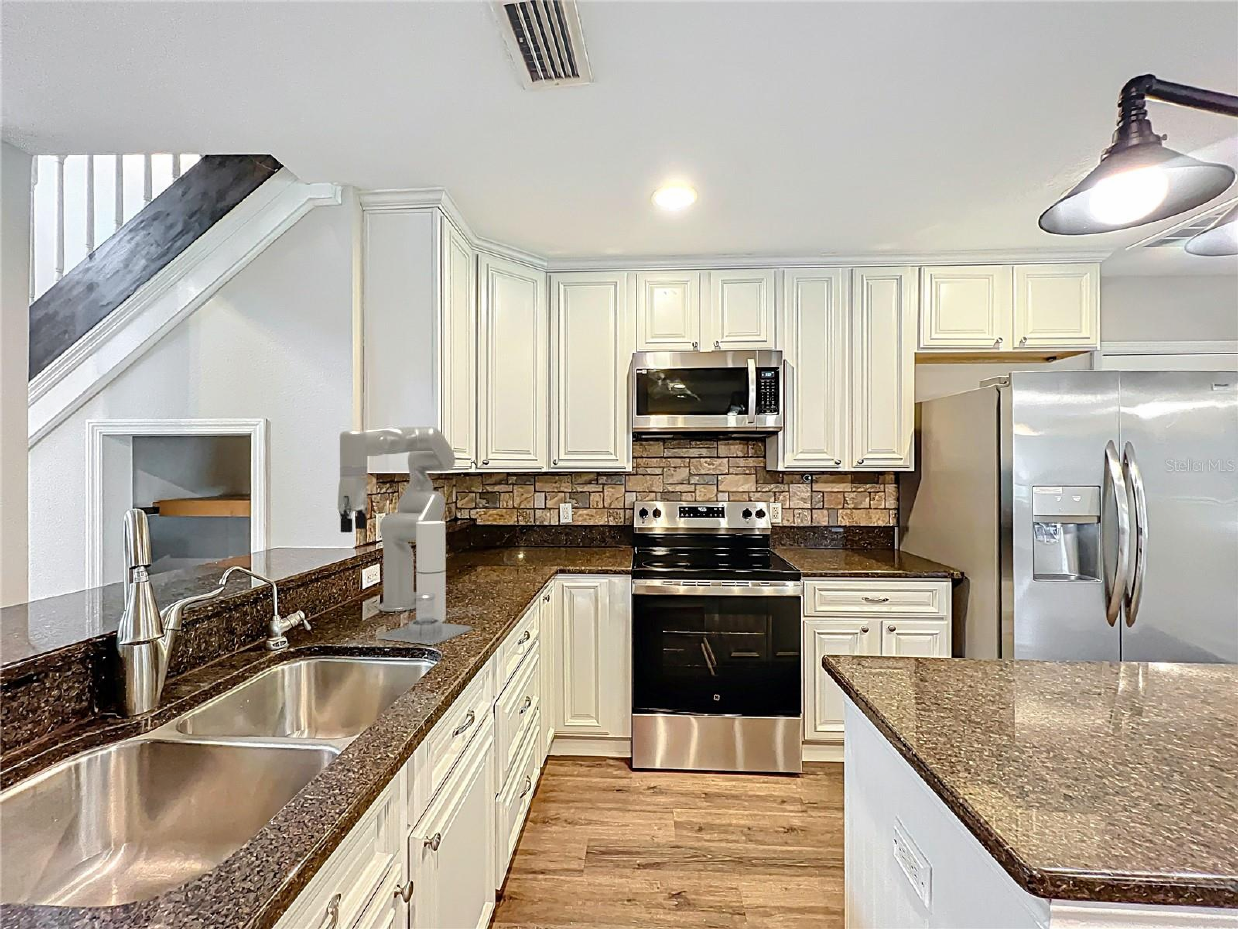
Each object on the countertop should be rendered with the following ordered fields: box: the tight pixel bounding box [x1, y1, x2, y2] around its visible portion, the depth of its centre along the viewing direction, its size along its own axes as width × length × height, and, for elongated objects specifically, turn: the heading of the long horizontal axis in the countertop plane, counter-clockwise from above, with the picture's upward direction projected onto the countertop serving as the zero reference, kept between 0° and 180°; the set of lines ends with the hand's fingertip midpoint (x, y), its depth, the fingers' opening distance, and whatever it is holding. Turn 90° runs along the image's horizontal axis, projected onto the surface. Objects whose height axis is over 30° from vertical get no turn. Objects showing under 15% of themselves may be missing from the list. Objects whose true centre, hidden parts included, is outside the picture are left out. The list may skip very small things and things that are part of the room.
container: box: [415, 520, 447, 623], centre depth 197 cm, size 9×9×30 cm
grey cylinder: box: [415, 593, 435, 625], centre depth 180 cm, size 5×5×10 cm
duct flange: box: [376, 619, 472, 646], centre depth 180 cm, size 18×18×4 cm
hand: (353, 530), depth 190 cm, fingers open, 9 cm apart
